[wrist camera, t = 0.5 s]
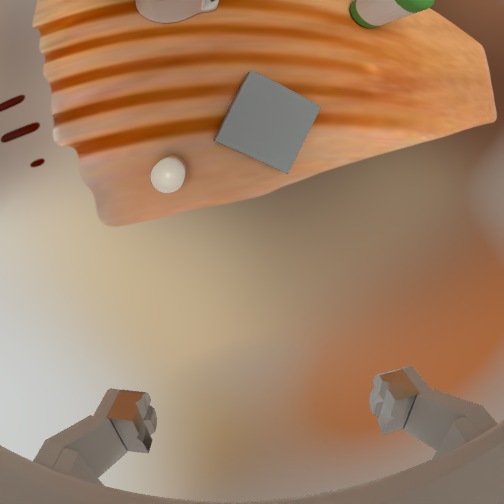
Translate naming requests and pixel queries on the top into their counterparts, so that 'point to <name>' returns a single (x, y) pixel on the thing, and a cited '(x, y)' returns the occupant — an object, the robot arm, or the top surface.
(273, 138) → the plinth
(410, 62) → the top surface
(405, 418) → the robot arm
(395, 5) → the wine bottle
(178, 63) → the top surface
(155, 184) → the cylinder
